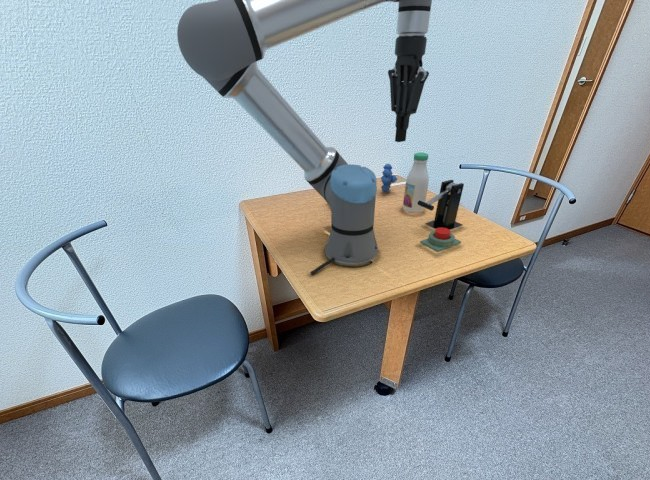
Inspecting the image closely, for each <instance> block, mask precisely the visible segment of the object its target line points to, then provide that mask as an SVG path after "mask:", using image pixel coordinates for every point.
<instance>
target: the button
mask: <svg viewBox="0 0 650 480" xmlns="http://www.w3.org/2000/svg"><path fill="white" fill-rule="evenodd" d="M434 229H435V228H434ZM434 231H435V234H434V237H435V238H437V239H441V240H447V239H449V237H450V233H452V230H449V229H447V228H442V227H440V228H436V229H435V230H434Z"/></svg>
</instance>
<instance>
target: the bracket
mask: <svg viewBox="0 0 650 480" xmlns="http://www.w3.org/2000/svg"><path fill="white" fill-rule="evenodd" d="M452 182H453V183H455V182H454V179H448V180H444V181H441V184H440V188H439V194H440V193H442V192H443V191H445V190H446V186H447V185H449V184H450V183H452ZM464 185H465V183H463V182H460V183H456V185H452V187H451V192H450V195H449V194H447V195H445V196H444V197H442V198H441V199H439V200H438V201H437V205H436V208H435V209H436V210H435V214H434V219H433V220H431V221H428V222H425V223H424V225H427V226H428V227H431V228H433V229H436V228H440V227H442V228H447V229H449V230H450V231H452V230H453V229H457V228H459V227H462V226H463V223H460V222H457V221H456V219H457V216H458V212H459V207H460V202H461V199H462V195H463V194H462V193H463V190H464ZM448 200H449V201H448ZM447 202H448V204H447ZM446 207H447V211H446V215H445V220H444V222H443V219H444V214H445V209H446Z"/></svg>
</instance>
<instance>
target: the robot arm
mask: <svg viewBox="0 0 650 480" xmlns="http://www.w3.org/2000/svg"><path fill="white" fill-rule="evenodd" d="M386 2H391V3H398V8H397V19H396V30H395V33H396V34H397V35H398V36H397V37H396V38H395V45H394V55H395V56H396V61H395V63H394V67H393V68H392V69H388V71H387V75H388V79H389V90H390V91H389V92H390V111H391V112H394V113H395V115H396V116H395V137H394V142H396V143H402V142H406V141H407V140H406V139H407V131H408V129H409V126H410V117H411V115H414V114H416V113H417V111H418V108H419V103H420V101H421V97H422V93H423V90H424V86H425V83H426V81H427V79H428V78H429V76H430V72H429V71H428V70H425V69H424V68H423V66H424V65H423V64H424V63H423V56H425V54H426V51H427V49H426V48H427V41H428V38H427V36H426V34H428V32H429V25H430V16H431V9H432V3H433V0H212V1H207V2H200V3H195V4H193V5H191V6H190V7H187V8H186V9H185V11H184V12H183V13H182V14H181V17H180V18H179V21H178V25H177V30H176V31H177V32H176V36H177V43H178V47H179V51H180V53H181V55H182V57H183V59H184V61H185V62H186V63H187V65H188V66H189V68H190V69H191V70H192V71H194V72H195V74H197V75H199V76H200V77H202V78H203V79H204V80H205V81H206V83H208V84H209V85H210V86H211V88H213V89H214V90H216V92H217V94H219V95H220V96H221V97H222V98H223V99H233V100H234V101H235V102H236V103H237V104H238V105H239V106H240V107H241V108H242V109H243V110H244V111H245V112H246V113H247V114H248V115H249V116H250V117H251V118H252V119H253V121H255V122H256V123H257V124H258V125H259V126H260V128H261V129H263V130H264V132H266V133H267V134H268V135H269V137H271V139H272V140H273V141H274V142H275V143H276V144H277V145H278V146H279V147H280V148H281V149H282V150H283V151H284V152H286V154H287V155H288V156H289V157H290V158H291V159H292V160H293V161H294V162H295V163H296V164H297V165H298V166H299V167H300V168H301V170H303V176H304V177H303V178H304V180H305V181H306V182H307V183H308V184H309V185H310V186H311V187H312V188H313V189H314V190H315V191H316V192H317V193H318V194H319V195H320V197H321V198H322V199H324V201H325V202H326V203H327V204H328V205H329V207H330V217H331V218H330V222H331V223H330V224H331V226H330V228H331V229H330V232H329V235H328V238H327V242H326V244H325V251H324V253H325V258H326V259H327V261H324V262H323V263H322V264H320V265H319V266H317V267H316V268H315V269H313V270H310V275H311V276H313V275H315V274H316V273H318V272H320V271H321V270H322V269H324V268H326V267H327V266H328V265H331V264H332V263H333V264H334V265H337V266H341V267H345V268H346V267H347V268H358V267H363V266H364V267H365V266H368V265H370V264H372V263H373V261H372V260H374V259H375V258H377V256H378V253H379V247H378V243H377V239H376V236H375V235H376V234H375V231H374V223H375V213H376V212H375V211H376V202H377V201H376V198H377V193H378V186H377V176H376V174H375V173H374V171H373V170H371V169H370V168H369V167H366V166H362V165H360V164H349V163H348V162H347V161H346V160H345V159H344V158H343V156H342V155H341V154H340V153H339V151H338V150H337V149H336V148H335V147H333V146H326V145H325V144H324V143H323V142H322V141H321V139H319V137H318V136H317V135H316V134H315V132H314V131H313V130H312V129H311V128H310V126H308V124H306V122H305V121H304V119H302V117H300V115H299V114H298V112H296V110H294V108H293V107H292V106H291V104H290V103H289V102H288V101H287V99H286V98H284V97H283V96H282V94H281V93H280V92H279V91H278V90H277V89H276V88H275V86H274V85H273V83H271V82H270V80H269V79H268V78H267V77H266V76H265V75H264V74H263V73H262V71H261V70H260V69H259V65H258V61H262V60H264V58H265V55H266V52H267V51H268V50H271V49H273V48H276V47H277V46H280V45H282V44H283V45H284V44H285V43H287V42H290V41H292V40H296V39H297V38H300V37H302V36H305V35H307V34H309V33H313V32H314V31H317V30H320V29H322V28H325V27H326V26H330V25H332V24H335V23H337V22H339V21H341V20H344V19H346V18H349V17H352V16H353V15H356V14H358V13H361V12H364V11H366V10H368V9H371V8H373V7H377V6H378V5H381V4H383V3H386Z"/></svg>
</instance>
